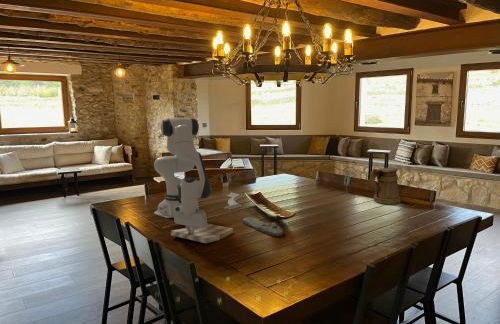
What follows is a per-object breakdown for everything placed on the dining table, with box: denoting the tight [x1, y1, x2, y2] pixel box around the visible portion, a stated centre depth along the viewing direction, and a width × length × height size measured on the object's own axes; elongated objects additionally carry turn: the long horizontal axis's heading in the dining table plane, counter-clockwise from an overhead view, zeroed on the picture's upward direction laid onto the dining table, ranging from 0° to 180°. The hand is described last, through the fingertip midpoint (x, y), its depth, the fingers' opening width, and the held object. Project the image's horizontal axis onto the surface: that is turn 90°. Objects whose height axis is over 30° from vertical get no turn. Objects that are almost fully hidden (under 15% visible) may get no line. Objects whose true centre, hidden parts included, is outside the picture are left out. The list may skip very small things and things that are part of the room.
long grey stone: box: [242, 216, 284, 237], centre depth 225 cm, size 35×5×10 cm
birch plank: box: [170, 227, 221, 244], centre depth 209 cm, size 24×12×2 cm, turn 58°
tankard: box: [369, 167, 402, 206], centre depth 279 cm, size 18×24×25 cm
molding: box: [223, 192, 243, 210], centre depth 285 cm, size 42×12×3 cm, turn 179°
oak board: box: [190, 222, 234, 240], centre depth 219 cm, size 24×12×3 cm, turn 58°
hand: (191, 233), depth 205 cm, fingers closed, pressing on birch plank
